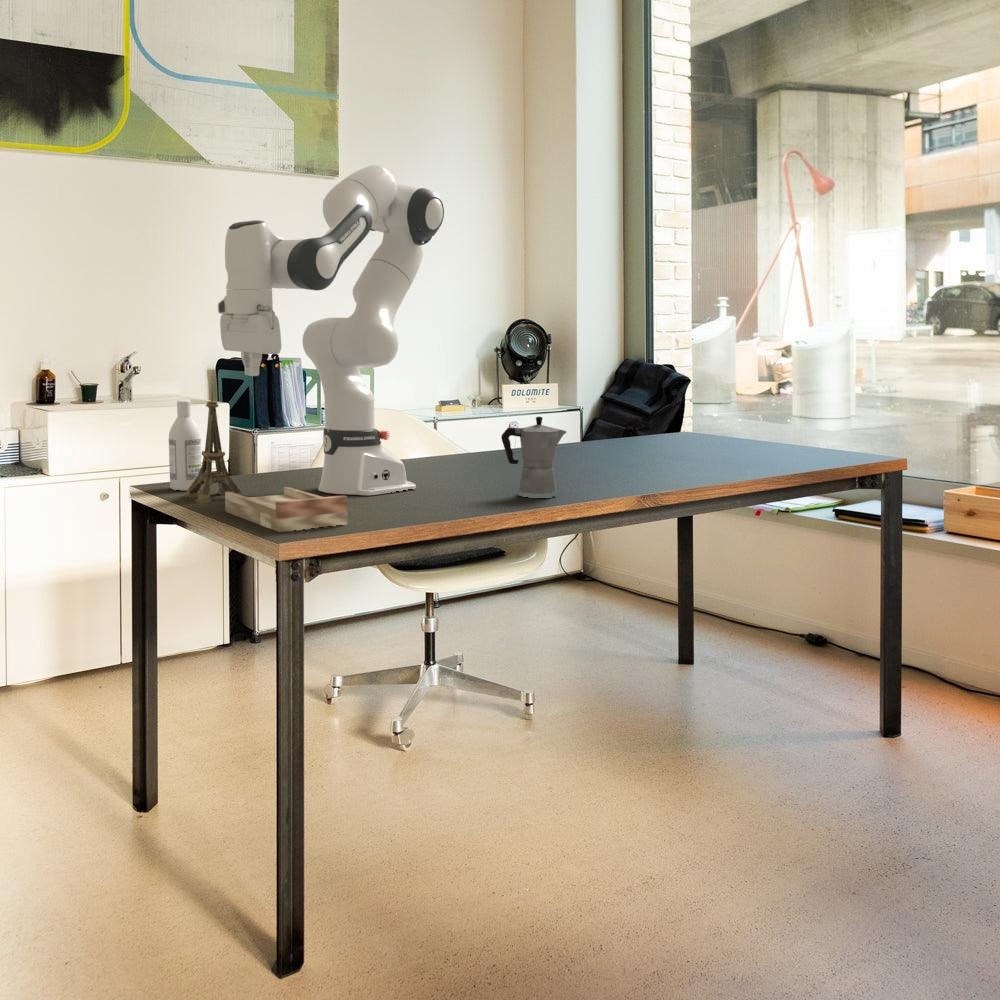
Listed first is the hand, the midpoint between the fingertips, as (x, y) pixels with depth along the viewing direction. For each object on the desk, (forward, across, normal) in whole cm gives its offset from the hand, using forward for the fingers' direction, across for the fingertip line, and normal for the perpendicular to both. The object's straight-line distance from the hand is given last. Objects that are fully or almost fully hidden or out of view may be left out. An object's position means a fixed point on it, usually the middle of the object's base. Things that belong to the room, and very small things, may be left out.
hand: (252, 375), depth 216 cm
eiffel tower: (+28, +19, +1) cm, 34 cm away
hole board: (+27, -12, -1) cm, 30 cm away
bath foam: (+28, +33, +2) cm, 43 cm away
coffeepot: (+29, -15, -61) cm, 69 cm away
